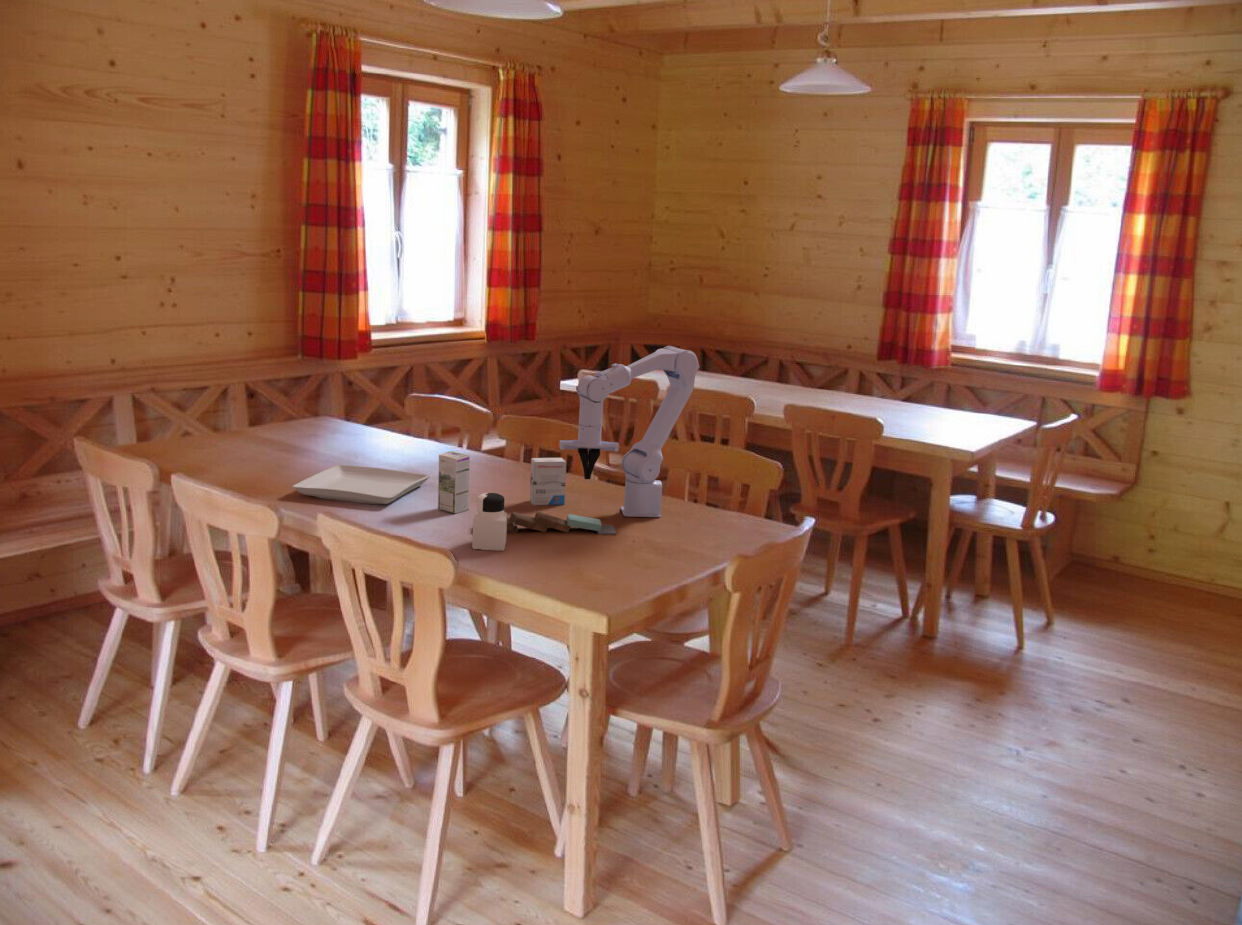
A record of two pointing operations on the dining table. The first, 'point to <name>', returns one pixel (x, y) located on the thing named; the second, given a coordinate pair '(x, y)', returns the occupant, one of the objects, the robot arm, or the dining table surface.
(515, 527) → the domino
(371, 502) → the square plate
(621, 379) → the robot arm
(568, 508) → the dining table surface
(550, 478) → the ink box
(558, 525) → the domino
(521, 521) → the domino
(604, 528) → the slot pad
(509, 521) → the domino
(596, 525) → the teal tile
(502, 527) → the medicine bottle
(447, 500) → the syrup box
